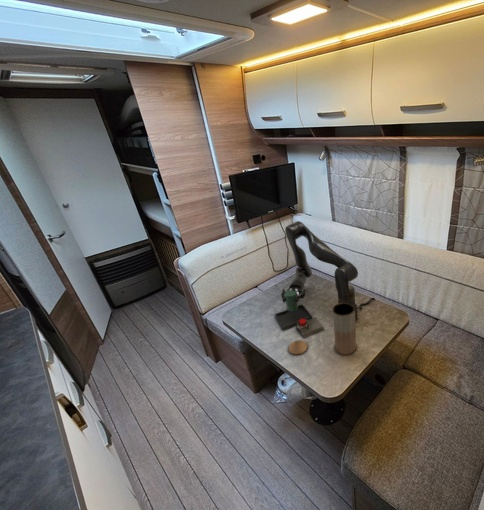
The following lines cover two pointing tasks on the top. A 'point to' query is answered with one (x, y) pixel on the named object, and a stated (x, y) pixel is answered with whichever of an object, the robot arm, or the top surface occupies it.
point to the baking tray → (292, 317)
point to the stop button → (302, 321)
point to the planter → (344, 327)
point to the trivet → (298, 347)
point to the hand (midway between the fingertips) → (289, 301)
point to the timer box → (310, 327)
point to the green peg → (291, 300)
